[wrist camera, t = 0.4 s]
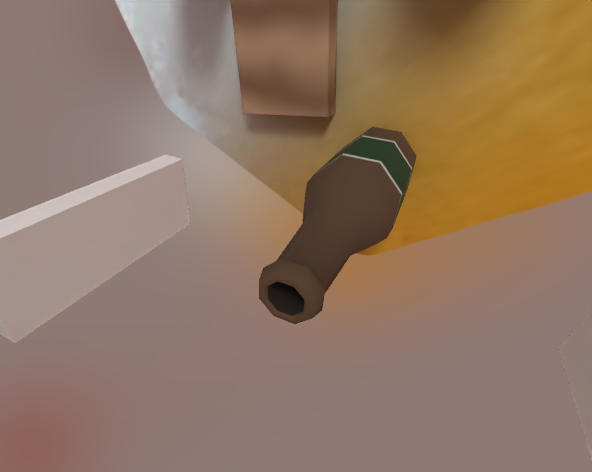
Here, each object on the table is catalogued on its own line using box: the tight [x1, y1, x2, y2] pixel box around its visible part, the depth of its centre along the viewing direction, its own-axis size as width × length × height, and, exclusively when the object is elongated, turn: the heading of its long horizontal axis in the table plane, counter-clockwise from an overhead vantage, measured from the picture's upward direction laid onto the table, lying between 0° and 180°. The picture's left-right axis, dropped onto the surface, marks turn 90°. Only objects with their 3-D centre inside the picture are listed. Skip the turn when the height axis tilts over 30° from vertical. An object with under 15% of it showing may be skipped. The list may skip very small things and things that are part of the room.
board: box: [231, 0, 338, 117], centre depth 30 cm, size 20×10×2 cm, turn 2°
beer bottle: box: [259, 127, 416, 324], centre depth 26 cm, size 8×8×24 cm
